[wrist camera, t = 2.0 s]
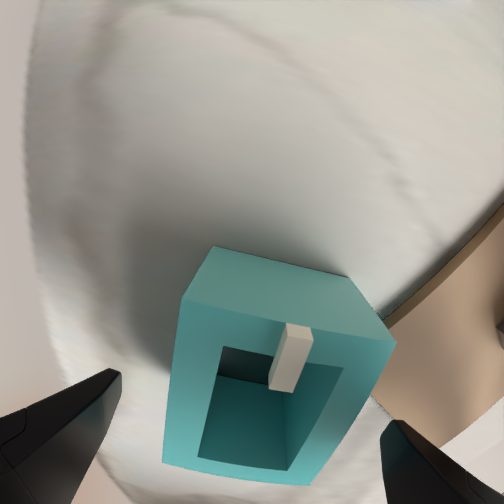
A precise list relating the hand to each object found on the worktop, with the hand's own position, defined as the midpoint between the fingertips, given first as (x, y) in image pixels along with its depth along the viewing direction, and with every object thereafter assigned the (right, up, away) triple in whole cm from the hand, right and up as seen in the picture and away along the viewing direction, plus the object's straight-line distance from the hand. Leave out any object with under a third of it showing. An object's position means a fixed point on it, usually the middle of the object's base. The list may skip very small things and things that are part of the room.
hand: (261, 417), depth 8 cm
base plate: (+14, +2, +4) cm, 15 cm away
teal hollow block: (0, +1, +4) cm, 5 cm away
